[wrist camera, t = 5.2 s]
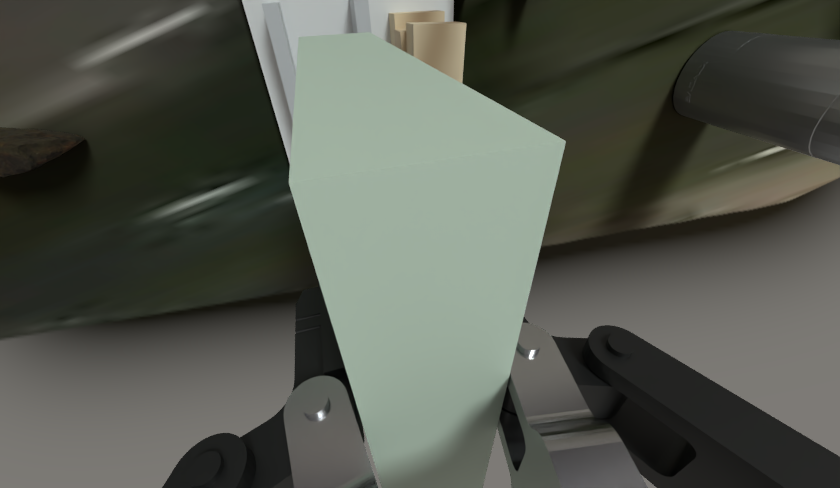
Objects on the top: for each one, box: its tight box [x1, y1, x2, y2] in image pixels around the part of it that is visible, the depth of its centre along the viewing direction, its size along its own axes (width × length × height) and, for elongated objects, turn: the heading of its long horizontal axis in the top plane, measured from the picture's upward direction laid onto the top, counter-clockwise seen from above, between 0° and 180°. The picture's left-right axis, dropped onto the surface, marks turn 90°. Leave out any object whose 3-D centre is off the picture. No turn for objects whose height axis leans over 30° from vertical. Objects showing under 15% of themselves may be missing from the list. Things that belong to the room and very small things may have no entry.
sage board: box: [289, 32, 566, 488], centre depth 12 cm, size 3×12×14 cm, turn 2°
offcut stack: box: [389, 10, 466, 83], centre depth 28 cm, size 4×12×6 cm, turn 2°
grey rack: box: [242, 0, 454, 163], centre depth 29 cm, size 16×18×4 cm
